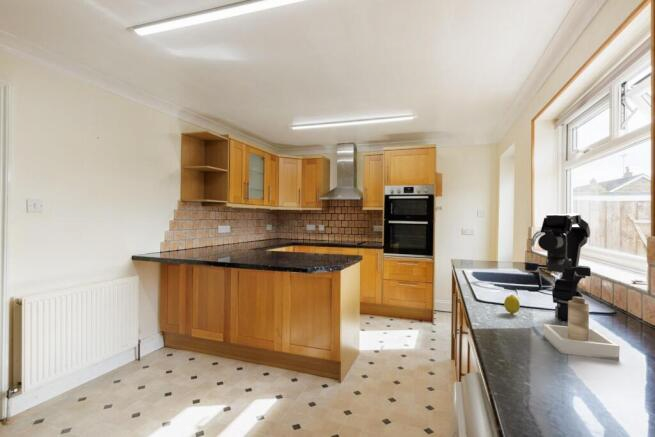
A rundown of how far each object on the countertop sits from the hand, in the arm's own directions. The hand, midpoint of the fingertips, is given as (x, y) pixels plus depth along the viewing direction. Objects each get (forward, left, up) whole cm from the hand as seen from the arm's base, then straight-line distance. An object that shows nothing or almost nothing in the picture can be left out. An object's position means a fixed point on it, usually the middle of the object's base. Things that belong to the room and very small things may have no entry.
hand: (556, 292), depth 113 cm
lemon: (+11, -13, -13) cm, 21 cm away
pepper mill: (0, +17, -12) cm, 21 cm away
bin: (0, +17, -13) cm, 21 cm away
